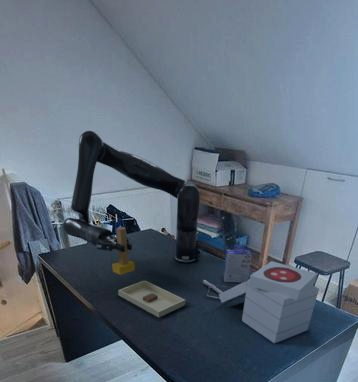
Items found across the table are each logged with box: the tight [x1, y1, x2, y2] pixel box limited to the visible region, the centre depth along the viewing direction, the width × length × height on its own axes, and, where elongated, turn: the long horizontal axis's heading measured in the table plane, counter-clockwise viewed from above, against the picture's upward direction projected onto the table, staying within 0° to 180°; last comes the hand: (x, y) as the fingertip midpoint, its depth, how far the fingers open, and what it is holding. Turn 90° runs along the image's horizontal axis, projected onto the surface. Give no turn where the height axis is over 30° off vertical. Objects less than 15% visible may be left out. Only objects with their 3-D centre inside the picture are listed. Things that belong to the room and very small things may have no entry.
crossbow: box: [202, 279, 232, 299], centre depth 129 cm, size 16×13×2 cm
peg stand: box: [111, 226, 136, 276], centre depth 121 cm, size 4×7×16 cm, turn 136°
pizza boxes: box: [218, 260, 320, 344], centre depth 108 cm, size 19×30×18 cm, turn 32°
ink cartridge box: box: [223, 244, 253, 284], centre depth 135 cm, size 10×6×14 cm, turn 89°
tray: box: [117, 280, 186, 318], centre depth 120 cm, size 22×13×3 cm, turn 46°
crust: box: [143, 293, 158, 303], centre depth 120 cm, size 3×4×1 cm, turn 136°
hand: (127, 248), depth 119 cm, fingers closed on peg stand, 2 cm apart
